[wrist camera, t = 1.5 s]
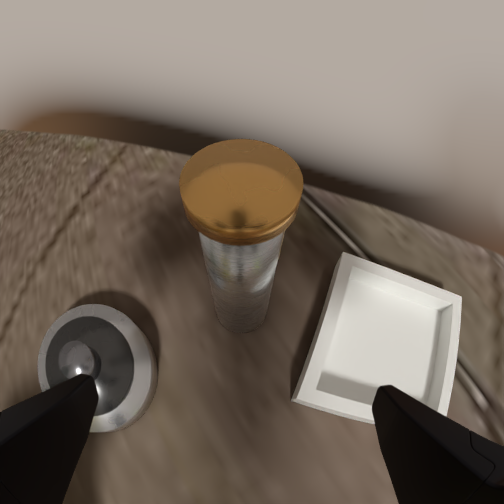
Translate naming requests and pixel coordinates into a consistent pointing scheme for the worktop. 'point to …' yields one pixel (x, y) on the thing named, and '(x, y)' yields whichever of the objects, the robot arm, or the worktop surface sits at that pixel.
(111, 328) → the disc
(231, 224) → the pin
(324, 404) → the tray
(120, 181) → the worktop surface
